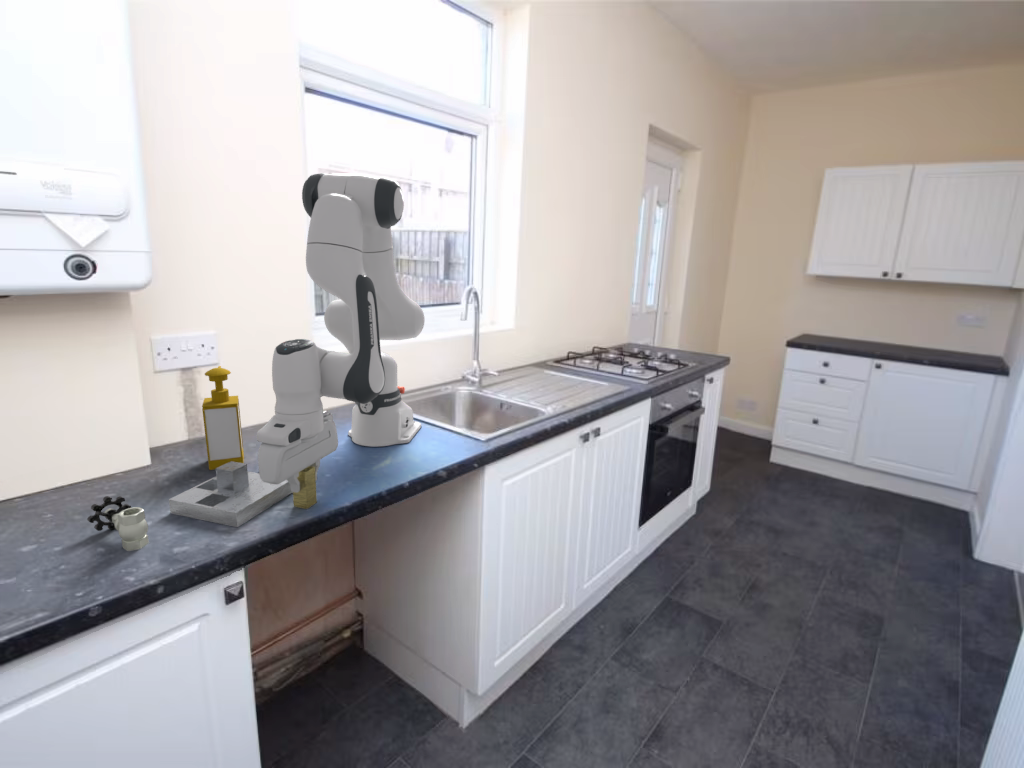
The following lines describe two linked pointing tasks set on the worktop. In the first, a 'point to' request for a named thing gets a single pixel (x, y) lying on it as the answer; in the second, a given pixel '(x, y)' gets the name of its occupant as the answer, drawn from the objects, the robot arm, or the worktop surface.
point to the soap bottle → (222, 423)
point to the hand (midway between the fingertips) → (304, 486)
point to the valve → (123, 522)
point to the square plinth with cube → (229, 496)
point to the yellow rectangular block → (306, 489)
